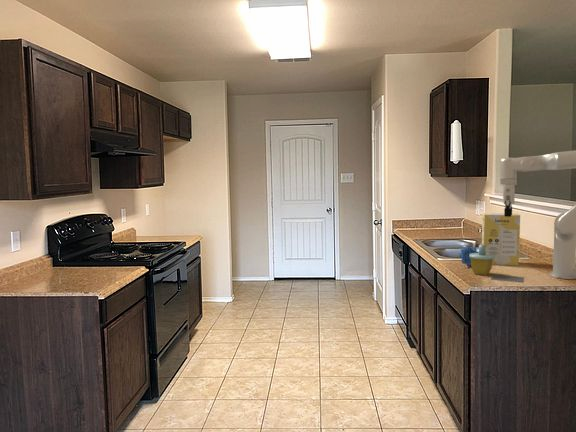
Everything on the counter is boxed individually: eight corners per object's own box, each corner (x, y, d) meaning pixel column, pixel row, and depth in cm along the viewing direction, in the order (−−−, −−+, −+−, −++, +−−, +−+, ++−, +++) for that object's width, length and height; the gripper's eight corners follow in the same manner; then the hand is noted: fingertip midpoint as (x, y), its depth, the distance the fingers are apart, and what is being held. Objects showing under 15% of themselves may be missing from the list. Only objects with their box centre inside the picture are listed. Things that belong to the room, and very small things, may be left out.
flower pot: (475, 272, 248) (476, 255, 247) (493, 274, 243) (493, 256, 242) (469, 275, 242) (470, 257, 241) (487, 277, 236) (488, 259, 235)
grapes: (461, 268, 257) (461, 246, 256) (457, 266, 264) (458, 244, 262) (483, 268, 256) (483, 246, 255) (479, 266, 263) (479, 244, 261)
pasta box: (515, 262, 274) (516, 213, 271) (518, 265, 264) (520, 215, 261) (481, 260, 279) (482, 213, 276) (483, 264, 269) (484, 214, 266)
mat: (524, 278, 233) (524, 277, 233) (523, 283, 222) (523, 282, 222) (493, 275, 240) (493, 274, 240) (490, 280, 229) (490, 279, 229)
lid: (496, 256, 244) (496, 244, 243) (493, 260, 233) (494, 247, 233) (471, 254, 249) (471, 242, 249) (467, 258, 239) (468, 246, 238)
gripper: (516, 182, 233) (515, 217, 234) (517, 181, 248) (516, 214, 250) (499, 182, 236) (499, 217, 238) (501, 181, 252) (501, 214, 253)
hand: (508, 215), depth 244 cm, fingers open, 9 cm apart
